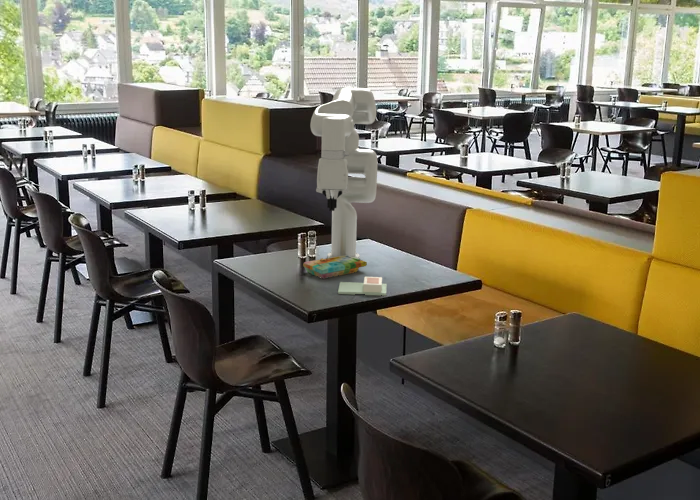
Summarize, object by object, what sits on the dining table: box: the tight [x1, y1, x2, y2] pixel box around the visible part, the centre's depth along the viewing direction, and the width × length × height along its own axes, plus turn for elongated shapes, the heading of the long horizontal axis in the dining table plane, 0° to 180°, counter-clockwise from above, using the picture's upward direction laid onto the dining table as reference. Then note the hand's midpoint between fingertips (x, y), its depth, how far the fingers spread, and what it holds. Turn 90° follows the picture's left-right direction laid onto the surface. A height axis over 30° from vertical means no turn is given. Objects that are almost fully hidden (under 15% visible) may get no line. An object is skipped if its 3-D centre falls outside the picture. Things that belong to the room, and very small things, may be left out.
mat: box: [337, 281, 388, 297], centre depth 267 cm, size 11×16×1 cm
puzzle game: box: [302, 255, 368, 279], centre depth 287 cm, size 12×5×20 cm
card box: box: [363, 276, 383, 292], centre depth 266 cm, size 9×3×6 cm
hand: (332, 210), depth 262 cm, fingers closed
